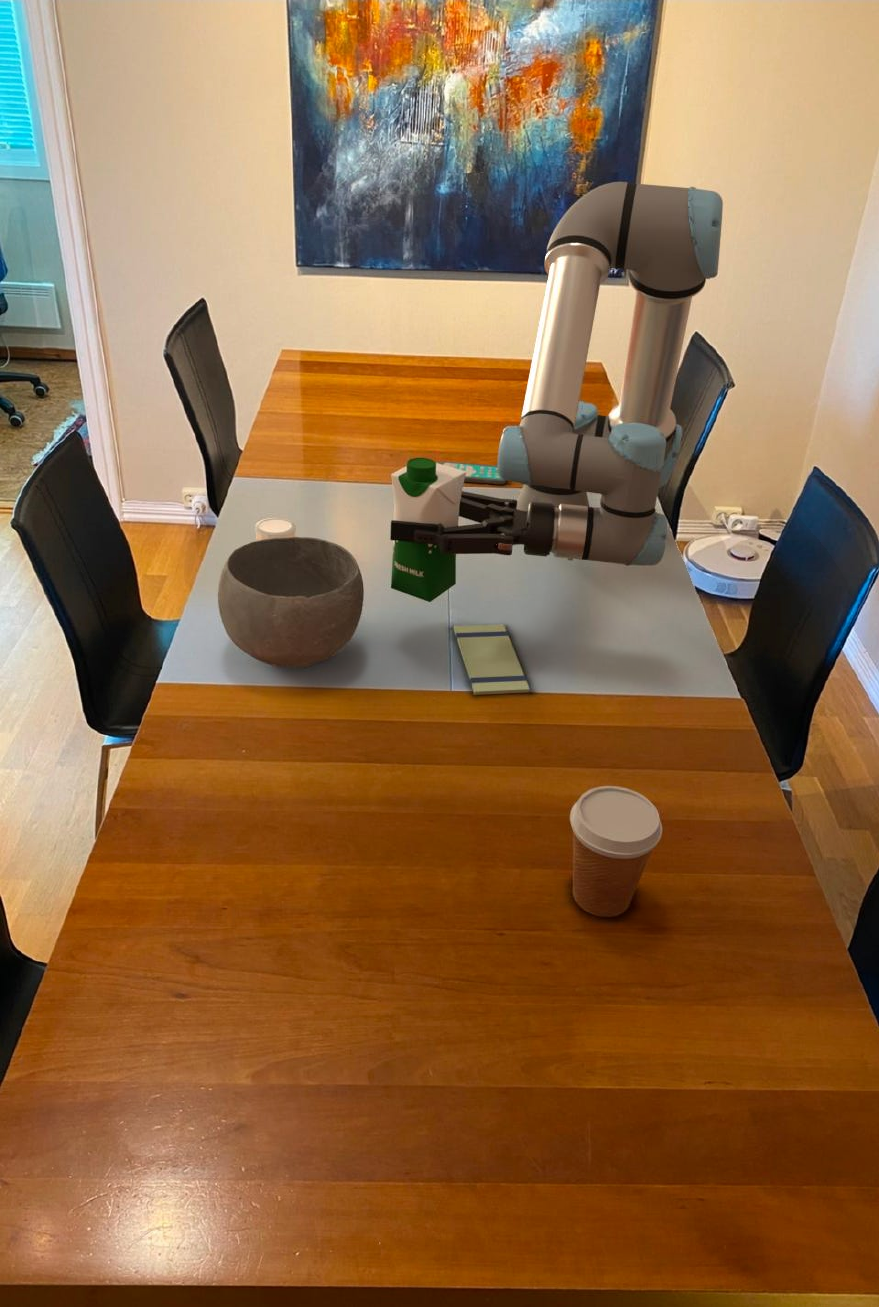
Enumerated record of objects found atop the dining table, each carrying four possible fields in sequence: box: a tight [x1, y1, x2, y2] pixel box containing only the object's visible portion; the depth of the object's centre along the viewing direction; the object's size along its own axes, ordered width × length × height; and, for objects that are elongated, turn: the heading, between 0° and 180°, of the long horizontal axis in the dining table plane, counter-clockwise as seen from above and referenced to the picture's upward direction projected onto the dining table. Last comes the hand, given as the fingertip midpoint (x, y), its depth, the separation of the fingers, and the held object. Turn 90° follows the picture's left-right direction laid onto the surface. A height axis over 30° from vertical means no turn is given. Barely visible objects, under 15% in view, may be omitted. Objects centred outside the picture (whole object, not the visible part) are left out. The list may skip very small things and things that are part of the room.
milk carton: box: [390, 457, 466, 603], centre depth 141 cm, size 9×9×20 cm
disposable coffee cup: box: [569, 785, 663, 918], centre depth 105 cm, size 10×10×12 cm
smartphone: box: [437, 461, 507, 485], centre depth 207 cm, size 9×1×15 cm
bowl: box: [217, 536, 365, 668], centre depth 142 cm, size 20×20×15 cm
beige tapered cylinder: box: [254, 517, 297, 541], centre depth 168 cm, size 7×7×7 cm
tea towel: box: [453, 623, 531, 696], centre depth 147 cm, size 8×18×1 cm, turn 9°
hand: (396, 515), depth 140 cm, fingers closed on milk carton, 9 cm apart
